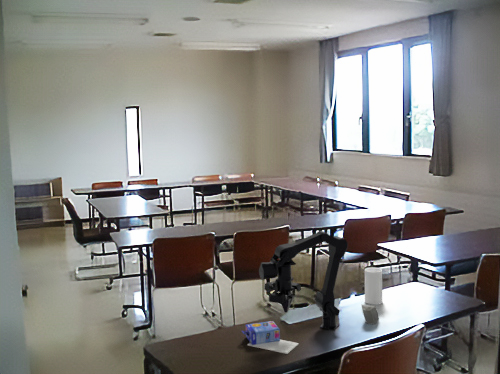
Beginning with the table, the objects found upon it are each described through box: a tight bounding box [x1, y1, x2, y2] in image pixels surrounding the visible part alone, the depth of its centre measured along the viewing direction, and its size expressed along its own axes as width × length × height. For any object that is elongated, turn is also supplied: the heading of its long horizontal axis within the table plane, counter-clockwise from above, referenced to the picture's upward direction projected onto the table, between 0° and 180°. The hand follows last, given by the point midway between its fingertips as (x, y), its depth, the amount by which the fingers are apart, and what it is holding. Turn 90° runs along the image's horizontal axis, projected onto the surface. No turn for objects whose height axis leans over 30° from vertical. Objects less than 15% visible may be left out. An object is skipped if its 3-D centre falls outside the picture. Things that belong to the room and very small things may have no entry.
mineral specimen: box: [361, 304, 380, 325], centre depth 232 cm, size 7×9×8 cm
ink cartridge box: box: [241, 320, 281, 345], centre depth 218 cm, size 10×6×14 cm
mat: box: [246, 339, 299, 355], centre depth 213 cm, size 10×18×1 cm, turn 59°
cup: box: [364, 266, 383, 306], centre depth 257 cm, size 8×8×16 cm
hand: (286, 312), depth 222 cm, fingers closed
